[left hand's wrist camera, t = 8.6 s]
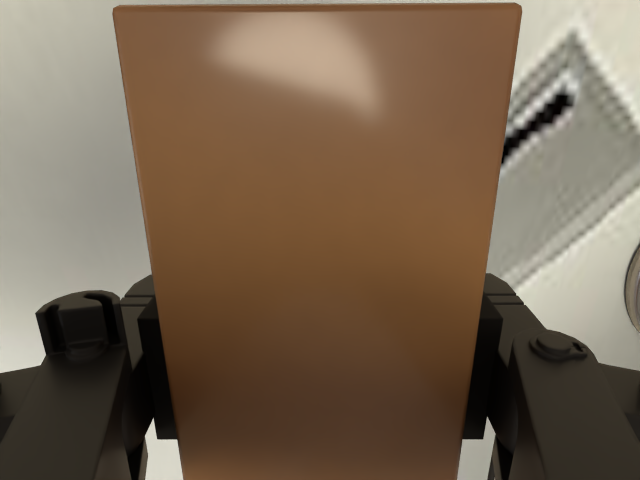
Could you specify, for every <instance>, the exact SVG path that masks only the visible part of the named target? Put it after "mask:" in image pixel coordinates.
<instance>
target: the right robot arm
mask: <svg viewBox="0 0 640 480" xmlns="http://www.w3.org/2000/svg"><path fill="white" fill-rule="evenodd" d="M625 295H626V305H627V310H628V313H629V316H630V318H631V320H632V322H633V324H634V326H635V327H636V329H637V330H638V332H639V333H640V247H639V249H638V250H637V252H636V254H635V256H634V258H633V261H632V263H631V266H630V269H629V272H628V276H627V282H626V294H625Z"/></svg>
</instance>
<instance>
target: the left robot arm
mask: <svg viewBox="0 0 640 480" xmlns="http://www.w3.org/2000/svg"><path fill="white" fill-rule="evenodd" d="M35 314H36V318H37V322H38V326H39V329H40V333H41V337H42V341H43V345H44V348H45V352H46V356H45V358H44V360H43V362H42V364H41V365H40V366H36V367H31V368H26V369H20V370H15V371H10V372H4V373H0V480H145V475H146V467H147V459H148V452H147V446H146V440H145V434H146V432H147V430H148V428H149V426H150V424H151V422H152V419H153V417H154V423H155V429H156V435H157V439H177V434H176V427H175V420H174V414H173V407H172V401H171V394H170V388H169V381H168V375H167V368H166V361H165V355H164V348H163V342H162V335H161V329H160V322H159V315H158V309H157V302H156V296H155V289H154V283H153V276H152V275H149V276H147V277H146V278H144V279H142V280H140V281H139V282H137V283H135V284H134V285H133V286H132V287H131V288H130V290H129V291H128V292H127V293H126V294H125V297H123V298H122V299H121V300H120V298H119V297H118V296H117V295H116V294H114V293H112V292H107V291H102V290H95V291H83V292H77V293H72V294H68V295H65V296H63V297H60V298H57V299H54V300H53V301H51V302H49V303H47V304H45V305H43V306H42V307H41V308H40V309H39V310H38V311H37V312H36V313H35ZM487 416H488V418H489V421H490V423H491V425H492V427H493V429H494V431H495V433H496V435H495V440H494V446H493V451H492V457H491V462H490V468H489V473H488V479H487V480H494V478H495V480H640V371H636V370H631V369H626V368H620V367H615V366H610V365H605V364H601V363H598V361H597V359H596V357H595V355H594V354H593V353H592V352H591V350H590V349H589V348H588V347H587V346H586V345H585V344H583V343H582V342H580V341H578V340H577V339H575V338H573V337H571V336H568V335H566V334H563V333H561V332H557V331H552V330H547V329H546V328H545V327H544V326H543V325H542V324H541V323H540V321H539V320H538V319H537V318H536V317H535V315H534V314H533V313H532V312H531V311H530V310H529V308H528V307H527V306H526V305H524V302H523V301H522V300H521V299H520V298H519V297H518V296H516V293H515V292H514V291H513V289H512V288H511V287H510V286H509V285H508V284H507V283H506V282H505V281H503V280H501V279H499V278H498V277H496V276H494V275H493V274H491V273H486V274H485V281H484V288H483V295H482V303H481V310H480V317H479V324H478V331H477V338H476V346H475V353H474V360H473V367H472V374H471V381H470V389H469V396H468V403H467V410H466V417H465V424H464V432H463V439H483V437H484V431H485V425H486V419H487Z"/></svg>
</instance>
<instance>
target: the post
mask: <svg viewBox="0 0 640 480" xmlns="http://www.w3.org/2000/svg"><path fill="white" fill-rule="evenodd" d="M521 16H522V7H521V5H519V4H517V3H373V4H203V5H119V6H117V7H115V8H113V20H114V27H115V33H116V40H117V46H118V53H119V60H120V66H121V73H122V79H123V86H124V92H125V99H126V106H127V112H128V119H129V125H130V132H131V138H132V145H133V151H134V158H135V165H136V171H137V178H138V184H139V191H140V197H141V204H142V210H143V217H144V224H145V230H146V237H147V243H148V250H149V256H150V263H151V270H152V276H153V283H154V289H155V296H156V302H157V309H158V315H159V322H160V329H161V335H162V342H163V348H164V355H165V361H166V368H167V375H168V381H169V388H170V394H171V401H172V407H173V414H174V420H175V427H176V434H177V440H178V447H179V453H180V460H181V466H182V473H183V479H184V480H457V475H458V467H459V460H460V453H461V446H462V439H463V432H464V424H465V417H466V410H467V403H468V396H469V389H470V381H471V374H472V367H473V360H474V353H475V346H476V338H477V331H478V324H479V317H480V310H481V303H482V295H483V288H484V281H485V274H486V267H487V260H488V253H489V245H490V238H491V231H492V224H493V217H494V210H495V202H496V195H497V188H498V181H499V174H500V167H501V159H502V152H503V145H504V138H505V131H506V124H507V116H508V109H509V102H510V95H511V88H512V81H513V73H514V66H515V59H516V52H517V45H518V38H519V30H520V23H521Z"/></svg>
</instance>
